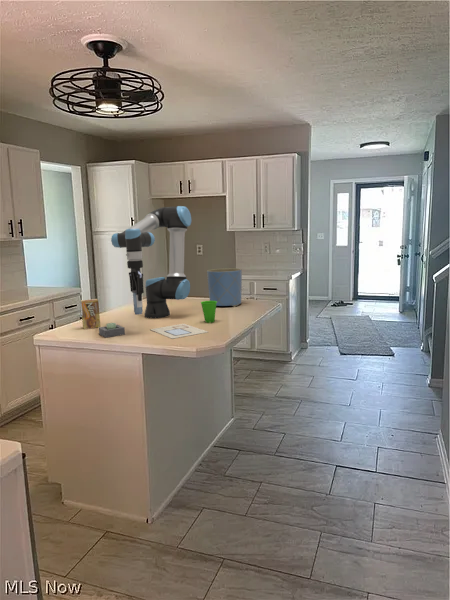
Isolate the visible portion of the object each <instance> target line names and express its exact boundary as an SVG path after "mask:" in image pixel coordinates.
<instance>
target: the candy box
mask: <svg viewBox="0 0 450 600" xmlns="http://www.w3.org/2000/svg"><path fill="white" fill-rule="evenodd" d="M99 307H100V306H99V299H98V298H92V299H85V300H83V299H81V300H80V309H81V310H80V311H81V321H82V328H83V329H84V330H87V329H95V328H96V329H97V328H99V327H101V318H100V317H101V316H100V308H99Z"/></svg>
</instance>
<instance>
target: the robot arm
mask: <svg viewBox="0 0 450 600" xmlns="http://www.w3.org/2000/svg"><path fill="white" fill-rule="evenodd" d="M191 224H192V215H191V212H190V210H189V208H188V207H187V206H185V205H184V206H182V205H176V206H163V207H159V208H156V209H154V210H152V211H151V212H149V213H147V214H146V215H145V216H144V218H142V219H141V220H139V221H138V222H136V223H135V224H133V225H131V226H130V227H128V228H126V229H125V230H124V231H122V232H115V233H113V234H112V235H111V238H110V239H111V241H110V242H111V244H112V246H113V247H114V248H119V249H121V248H122V249H123V248H126V249H125V250H126V254H125V257H126V260H127V263H126V265H127V266H126V267H127V269H130V271H129V272H128V276H129V278H128V279H129V287H130V292H131V293H132V294H133V290H136V291H137V293H136V300H137V308H138V307H142V308H143V307H144V306H143V294H144V292H145V297H146V299H145V300H146V307H145V311H144V318H146V319H162V318H163V319H164V318H167V317H170V316H171V311H170V308H169V307H168V304H167V300H177V301H179V300H185V299H186V298H187V297H189V294H190V291H191V283H190V280H188V279H187V275H186V274H185V238H186V237H185V233H186V232H187V231H188V227H190V226H191ZM158 228H159V229H160V228H166V229H167V231H168V233H169V256H168V257H169V258H168V259H169V264H168V265H169V267H168V268H169V269H168V270H169V271H168V274H167V275H166V277H165V276H161V277H153V278H148V279H146V281H145V291H144V273H141V269H142V268H143V266H144V264H143V263H144V262H143V261H144V260H142V259H143V249H142V248H148V247H152V246H153V245H154V243H155V241H156V240H155V239H156V238H155V235H154V234H153V233H152V232H151V231H152V230H154V231H155V230H156V229H158ZM132 302H133V301H132ZM133 305H134V302H133Z"/></svg>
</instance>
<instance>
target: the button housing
mask: <svg viewBox="0 0 450 600" xmlns="http://www.w3.org/2000/svg"><path fill="white" fill-rule="evenodd" d="M125 330H126V329H125V327H124V326H122V325H120V324H116V328H114V329H107V325H105V326H100V327H98V334H99V335H100V336H101V337H103V338H112V337H118V336H125V335H126V331H125Z"/></svg>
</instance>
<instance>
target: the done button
mask: <svg viewBox="0 0 450 600" xmlns="http://www.w3.org/2000/svg"><path fill="white" fill-rule="evenodd" d="M116 325H117V323H116V322H108V323H106V324H105V326H107V329H114V328H116Z"/></svg>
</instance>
